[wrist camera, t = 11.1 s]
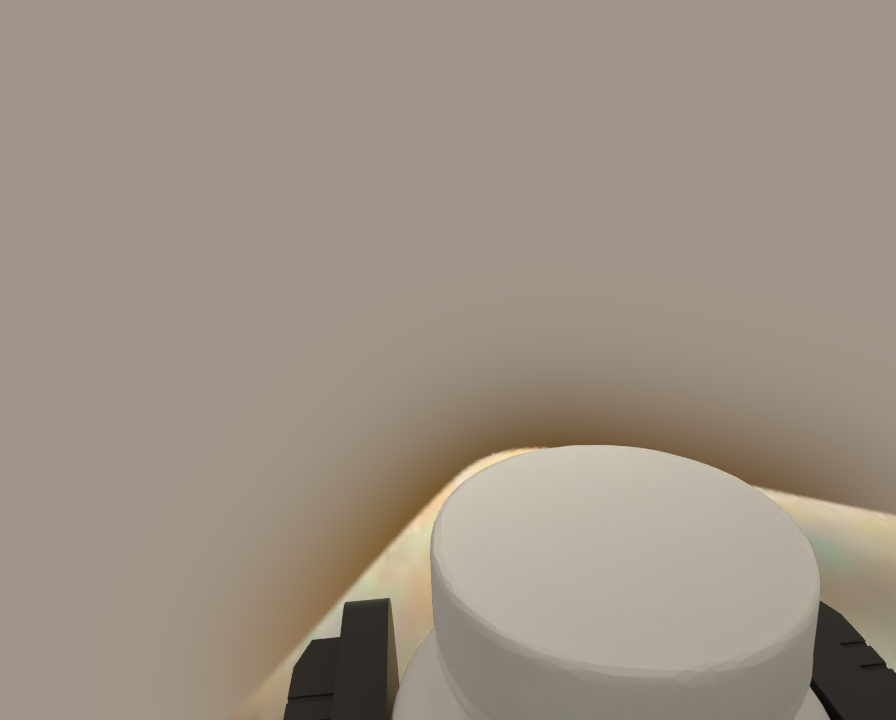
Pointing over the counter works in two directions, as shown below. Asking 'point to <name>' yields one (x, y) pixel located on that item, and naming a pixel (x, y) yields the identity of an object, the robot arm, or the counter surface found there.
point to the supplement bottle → (615, 595)
